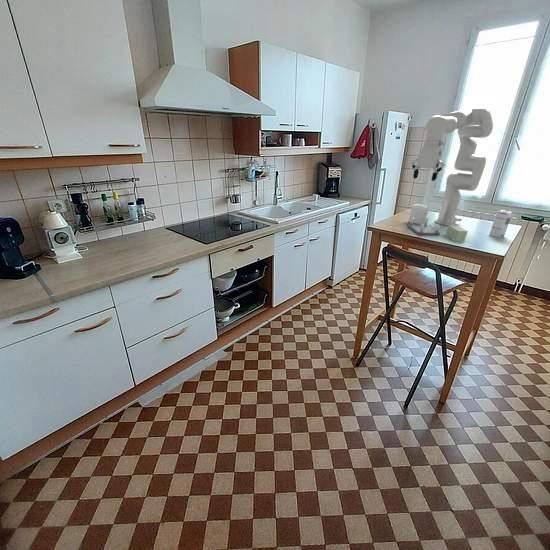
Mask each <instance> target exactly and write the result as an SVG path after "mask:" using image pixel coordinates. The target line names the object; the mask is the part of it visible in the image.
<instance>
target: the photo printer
mask: <svg viewBox="0 0 550 550" xmlns="http://www.w3.org/2000/svg"><path fill="white" fill-rule="evenodd" d="M428 213H429V207H428V206H427V205H425V204H422V203H414V204H412V206H411V209H410V213H409V218H408V222H409V223H411V218H412V217H414V222H413V224H418V225H422V224H424V223H425V219H426V218H427V216H428Z"/></svg>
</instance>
